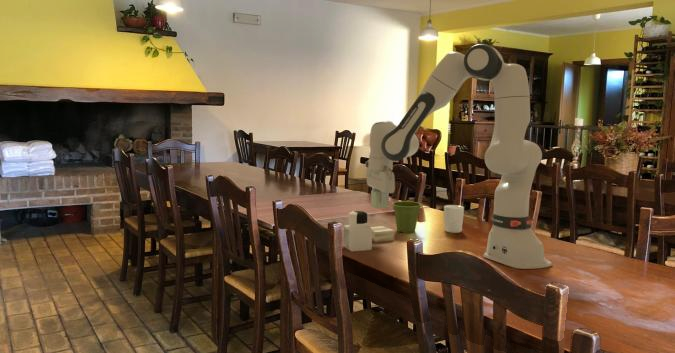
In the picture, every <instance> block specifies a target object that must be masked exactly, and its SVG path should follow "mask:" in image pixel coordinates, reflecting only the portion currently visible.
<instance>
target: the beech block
mask: <svg viewBox="0 0 675 353" xmlns="http://www.w3.org/2000/svg"><path fill="white" fill-rule="evenodd" d="M369 227H370V228H372V242H373V243H378V242H387V241H388V242H389V241H394V240H395V230H394V229H392V228H389V227H387V226H384V225H382V226H381V225H379V226H369Z"/></svg>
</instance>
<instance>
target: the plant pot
mask: <svg viewBox="0 0 675 353" xmlns="http://www.w3.org/2000/svg"><path fill="white" fill-rule="evenodd" d="M391 205H392V207H393V211H394V216H395V224H396V231H397V232H399V233H401V232H402V233H403V234H407V233H408V234H411V233H414V232H416V227H417V222H418V217H419V213H420V209H421V206H422V205H423V204H422V203H421V202H417V201H405V200H403V201H402V200H401V201H399V200H398V201H393V202H392V203H391Z"/></svg>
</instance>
